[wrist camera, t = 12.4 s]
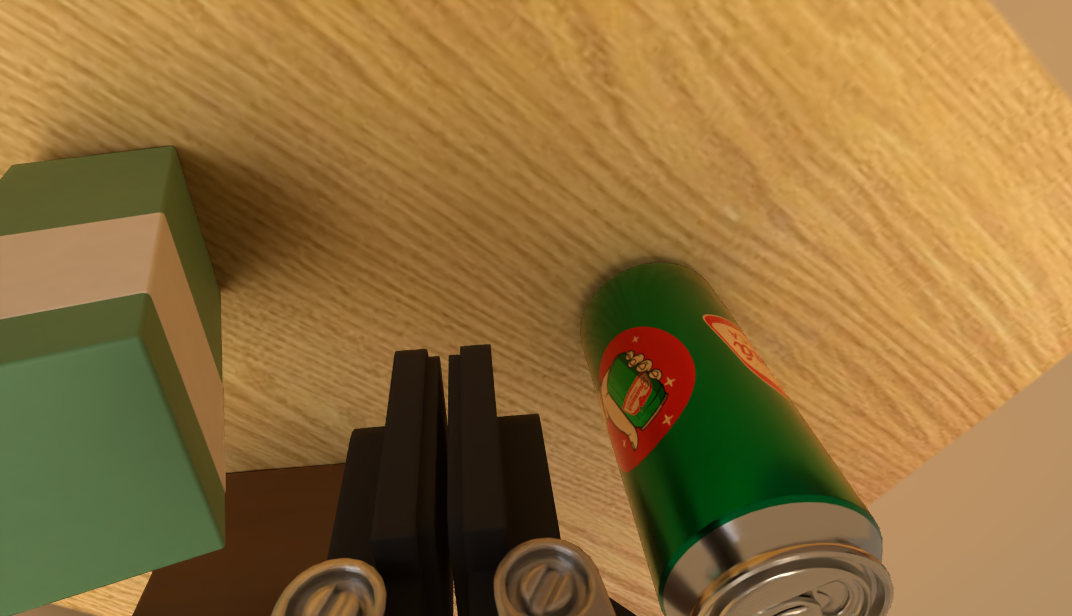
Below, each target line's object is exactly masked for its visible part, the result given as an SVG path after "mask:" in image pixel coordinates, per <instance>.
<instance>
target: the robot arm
mask: <svg viewBox="0 0 1072 616" xmlns="http://www.w3.org/2000/svg"><path fill="white" fill-rule="evenodd" d="M453 580H454V588H455V596H456V603H457V611H458V616H636V615H635V614H633V613H632V612H630V611H629V610H627V609H626V608H625V607H623V606H622V605H620V604H619V603H617V602H616V601H614V600H613V599H611V598H610V597H609V596H608V594H607V591H606V589H605V586H604V584H603V581H602V579H601V576H600V574H599V571H598V569H597V567H596V566H595V564H594V562H593V561H592V559H591V557H590V556H589V555H587V554H586V553H585V552H584V551H583V550H582V549H581V548H580V547H578V546H576V545H574V544H572V543H570V542H567V541H565V540H561V538H560V532H559V526H558V520H557V515H556V509H555V503H554V497H553V491H552V486H551V480H550V474H549V468H548V462H547V457H546V451H545V445H544V439H543V433H542V428H541V422H540V417H539V414H527V415H515V416H503V417H497V413H496V401H495V390H494V379H493V367H492V356H491V345H490V344H485V345H472V346H460V355H449V374H448V424H447V416H446V407H445V398H444V389H443V381H442V372H441V363H440V357H439V356H433V357H428V351H427V349H418V350H404V351H396V352H395V355H394V363H393V370H392V378H391V386H390V393H389V401H388V409H387V416H386V424H385V426H383V427H372V428H360V429H354V430H353V432H352V435H351V438H350V443H349V448H348V453H347V459H346V464H345V469H344V474H343V479H342V484H341V490H340V495H339V500H338V505H337V510H336V515H335V521H334V526H333V531H332V536H331V541H330V547H329V552H328V557H327V561H325V562H322V563H319V564H316V565H314V566H312V567H310V568H309V569H307V570H306V571H304V572H302V573H301V574H299V575H298V576H297V577H296V578H295V579H294V580H293V581H292V582H291V583H290V584H289V585H288V586H287V587H286V588H285V589H284V591H283V592H282V594H281V596H280V597H279V599H278V601H277V603H276V604H275V607H274V609H273V612H272V614H271V616H453Z"/></svg>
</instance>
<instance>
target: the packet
mask: <svg viewBox="0 0 1072 616" xmlns="http://www.w3.org/2000/svg"><path fill="white" fill-rule="evenodd" d="M225 492H226V476H225V432H224V388H223V385H222V341H221V293H220V290H219V286H218V283H217V280H216V277H215V273H214V270H213V267H212V264H211V261H210V257H209V254H208V251H207V248H206V245H205V241H204V238H203V235H202V232H201V228H200V225H199V222H198V219H197V216H196V212H195V209H194V206H193V203H192V200H191V196H190V193H189V190H188V187H187V183H186V180H185V177H184V174H183V171H182V167H181V164H180V161H179V158H178V155H177V151H176V148H175V147H174V146H167V147H159V148H150V149H142V150H134V151H125V152H117V153H108V154H100V155H92V156H83V157H75V158H67V159H58V160H50V161H42V162H33V163H25V164H16V165H13V166H11V167H10V168H9V170H8V171H7V172H6V173H5V174H4V176H3V177H2V178H1V179H0V616H11V615H15V614H18V613H21V612H24V611H27V610H30V609H33V608H37V607H40V606H43V605H46V604H49V603H52V602H56V601H59V600H62V599H65V598H68V597H71V596H74V595H78V594H81V593H84V592H87V591H90V590H93V589H96V588H100V587H103V586H106V585H109V584H112V583H115V582H119V581H122V580H125V579H128V578H131V577H134V576H137V575H141V574H144V573H147V572H150V571H153V570H156V569H160V568H163V567H166V566H169V565H172V564H175V563H178V562H182V561H185V560H188V559H191V558H194V557H197V556H200V555H204V554H207V553H210V552H213V551H216V550H219V549H222V548H224V547H225V543H226V536H225Z"/></svg>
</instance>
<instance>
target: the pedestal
mask: <svg viewBox="0 0 1072 616" xmlns="http://www.w3.org/2000/svg"><path fill="white" fill-rule="evenodd" d="M344 469H345V464H336V465H324V466H312V467H300V468H289V469H277V470H265V471H253V472H242V473H230V474H225V476H226V492H225V536H226V543H225V547H224V548H222V549H219V550H216V551H213V552H210V553H207V554H204V555H200V556H197V557H194V558H191V559H188V560H185V561H182V562H178V563H175V564H172V565H169V566H166V567H163V568H160V569H156V570H153V572H152V575H151V577H150V579H149V581H148V583H147V585H146V587H145V589H144V592H143V594H142V596H141V598H140V600H139V602H138V604H137V607H136V609H135V611H134V613H133V615H132V616H271V614H272V612H273V609H274V607H275V604H276V603H277V601H278V599H279V597H280V596H281V594H282V592H283V591H284V589H285V588H286V587H287V586H288V585H289V584H290V583H291V582H292V581H293V580H294V579H295V578H296V577H297V576H298V575H299V574H301V573H302V572H304V571H306V570H307V569H309V568H310V567H312V566H314V565H316V564H319V563H322V562H325V561H327V557H328V552H329V547H330V541H331V536H332V531H333V526H334V521H335V515H336V510H337V505H338V500H339V495H340V490H341V484H342V479H343V474H344Z"/></svg>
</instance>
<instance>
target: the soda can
mask: <svg viewBox="0 0 1072 616" xmlns="http://www.w3.org/2000/svg"><path fill="white" fill-rule="evenodd" d="M580 336H581V343H582V346H583V350H584V353H585V356H586V360H587V363H588V367H589V370H590V373H591V377H592V380H593V383H594V387H595V390H596V393H597V397H598V400H599V403H600V407H601V410H602V413H603V417H604V420H605V423H606V427H607V430H608V433H609V437H610V440H611V444H612V447H613V450H614V454H615V457H616V460H617V464H618V467H619V470H620V474H621V477H622V480H623V484H624V487H625V490H626V494H627V497H628V500H629V504H630V507H631V511H632V514H633V517H634V521H635V524H636V527H637V531H638V534H639V537H640V541H641V544H642V547H643V551H644V554H645V557H646V561H647V564H648V567H649V571H650V574H651V577H652V581H653V584H654V588H655V591H656V594H657V598H658V601H659V604H660V607H661V610H662V612H663V614H664V615H665V616H886V615H887V613H888V611H889V609H890V607H891V604H892V600H893V585H892V581H891V578H890V574H889V573H888V571H887V570H886V568H885V567H884V565H883V564H882V536H881V532H880V529H879V527H878V525H877V523H876V522H875V520H874V518H873V517H872V515H871V514H870V512H869V511H868V510H867V508H866V507H865V505H864V504H863V502H862V501H861V500H860V498H859V497H858V495H857V494H856V492H855V491H854V490H853V488H852V487H851V485H850V484H849V482H848V481H847V480H846V478H845V477H844V475H843V474H842V472H841V471H840V470H839V468H838V467H837V465H836V464H835V462H834V461H833V460H832V458H831V457H830V455H829V454H828V453H827V451H826V450H825V448H824V447H823V445H822V444H821V443H820V441H819V440H818V438H817V437H816V435H815V434H814V433H813V431H812V430H811V428H810V427H809V425H808V424H807V423H806V421H805V420H804V418H803V417H802V415H801V414H800V413H799V411H798V410H797V408H796V407H795V405H794V404H793V403H792V401H791V400H790V398H789V397H788V395H787V394H786V393H785V391H784V390H783V388H782V387H781V385H780V384H779V383H778V381H777V380H776V378H775V377H774V375H773V374H772V373H771V371H770V370H769V368H768V367H767V365H766V364H765V363H764V361H763V360H762V358H761V357H760V355H759V354H758V353H757V351H756V350H755V348H754V347H753V345H752V344H751V343H750V341H749V340H748V338H747V337H746V335H745V334H744V333H743V331H742V330H741V328H740V327H739V326H738V324H737V323H736V321H735V320H734V318H733V317H732V316H731V314H730V313H729V311H728V310H727V308H726V307H725V306H724V304H723V303H722V301H721V300H720V298H719V297H718V296H717V294H716V293H715V291H714V290H713V288H712V287H711V286H710V284H709V283H708V282H707V281H706V280H705V279H704V278H703V277H702V276H701V275H699V274H698V273H696V272H695V271H693V270H691V269H689V268H687V267H684V266H681V265H677V264H672V263H649V264H644V265H639V266H636V267H633V268H630V269H628V270H626V271H623V272H621V273H619V274H618V275H616V276H614V277H613V278H611V279H610V280H609V281H607V282H606V283H605V284H604V285H603V286H602V287H600V289H599V290H598V291H597V292H596V293H595V294H594V295H593V297H592V298H591V300H590V301H589V303H588V305H587V307H586V309H585V311H584V314H583V317H582V321H581V329H580Z"/></svg>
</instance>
